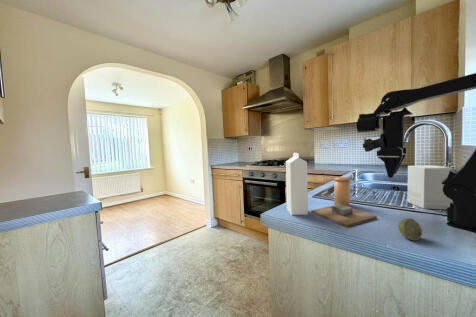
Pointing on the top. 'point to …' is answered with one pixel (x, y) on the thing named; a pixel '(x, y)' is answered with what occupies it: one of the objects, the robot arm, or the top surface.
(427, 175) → the supplement box
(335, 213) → the thin square board
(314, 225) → the top surface
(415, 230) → the lime
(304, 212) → the milk
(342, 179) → the container with domed lid
